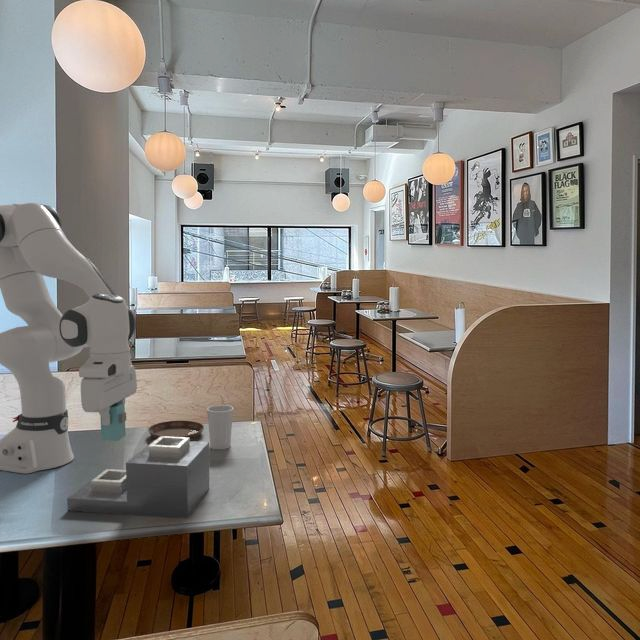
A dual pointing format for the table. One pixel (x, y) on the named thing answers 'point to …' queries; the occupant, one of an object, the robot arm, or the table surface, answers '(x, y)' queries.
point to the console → (151, 482)
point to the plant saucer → (176, 429)
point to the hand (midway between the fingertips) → (112, 421)
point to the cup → (220, 426)
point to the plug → (115, 423)
